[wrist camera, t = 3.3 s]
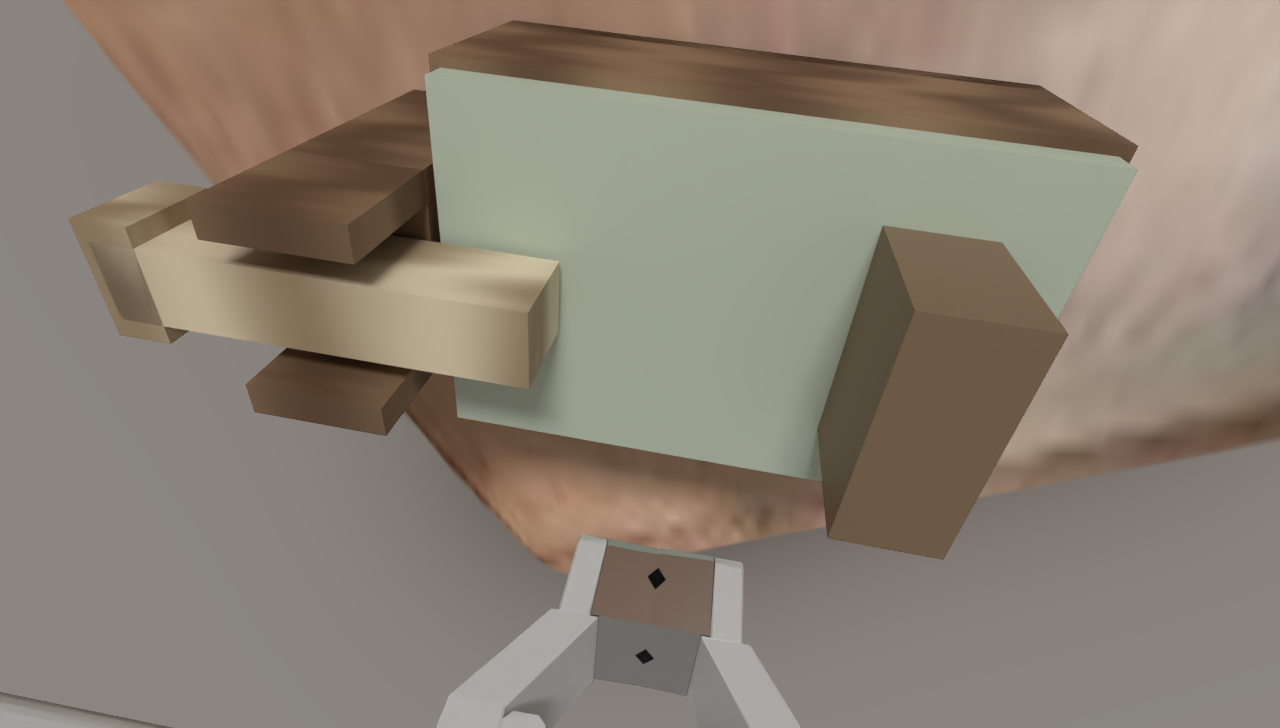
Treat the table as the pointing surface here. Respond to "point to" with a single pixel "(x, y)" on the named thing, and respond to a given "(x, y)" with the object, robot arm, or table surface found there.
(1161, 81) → the table surface
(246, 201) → the chest
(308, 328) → the bar
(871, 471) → the lid
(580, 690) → the robot arm
